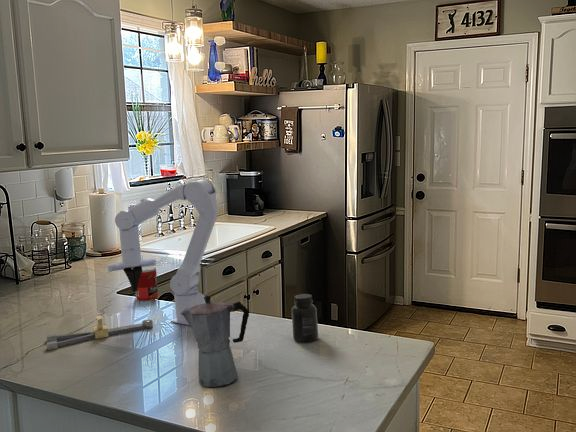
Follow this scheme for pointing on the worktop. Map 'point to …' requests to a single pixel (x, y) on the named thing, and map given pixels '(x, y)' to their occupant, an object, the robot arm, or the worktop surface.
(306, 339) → the supplement bottle
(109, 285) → the worktop surface
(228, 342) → the moka pot
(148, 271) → the canned food
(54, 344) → the grey long bar part
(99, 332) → the collar
